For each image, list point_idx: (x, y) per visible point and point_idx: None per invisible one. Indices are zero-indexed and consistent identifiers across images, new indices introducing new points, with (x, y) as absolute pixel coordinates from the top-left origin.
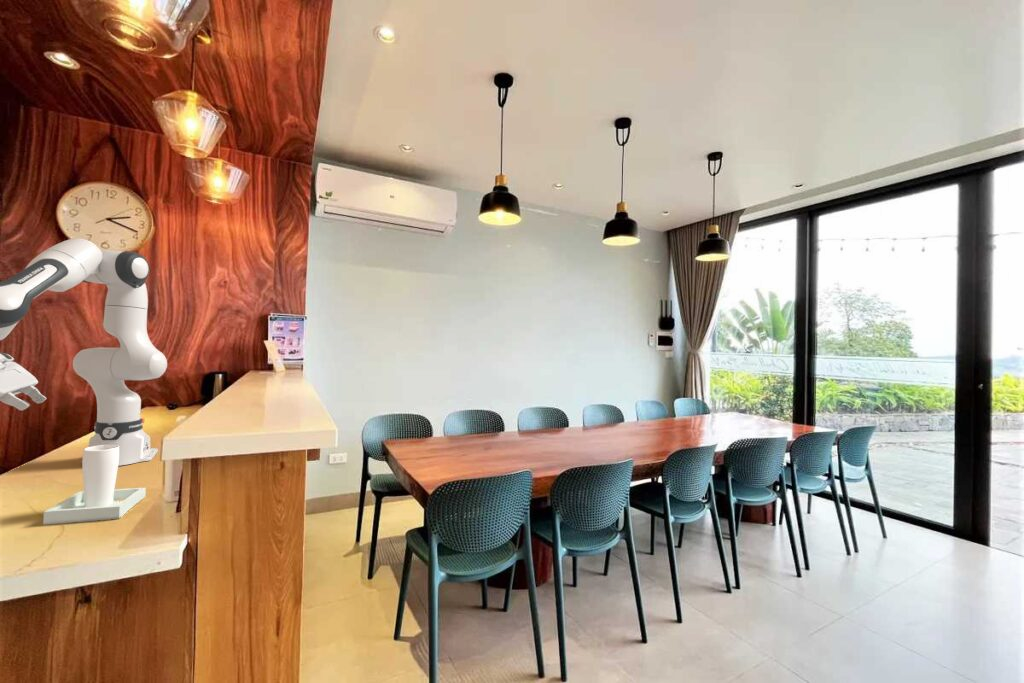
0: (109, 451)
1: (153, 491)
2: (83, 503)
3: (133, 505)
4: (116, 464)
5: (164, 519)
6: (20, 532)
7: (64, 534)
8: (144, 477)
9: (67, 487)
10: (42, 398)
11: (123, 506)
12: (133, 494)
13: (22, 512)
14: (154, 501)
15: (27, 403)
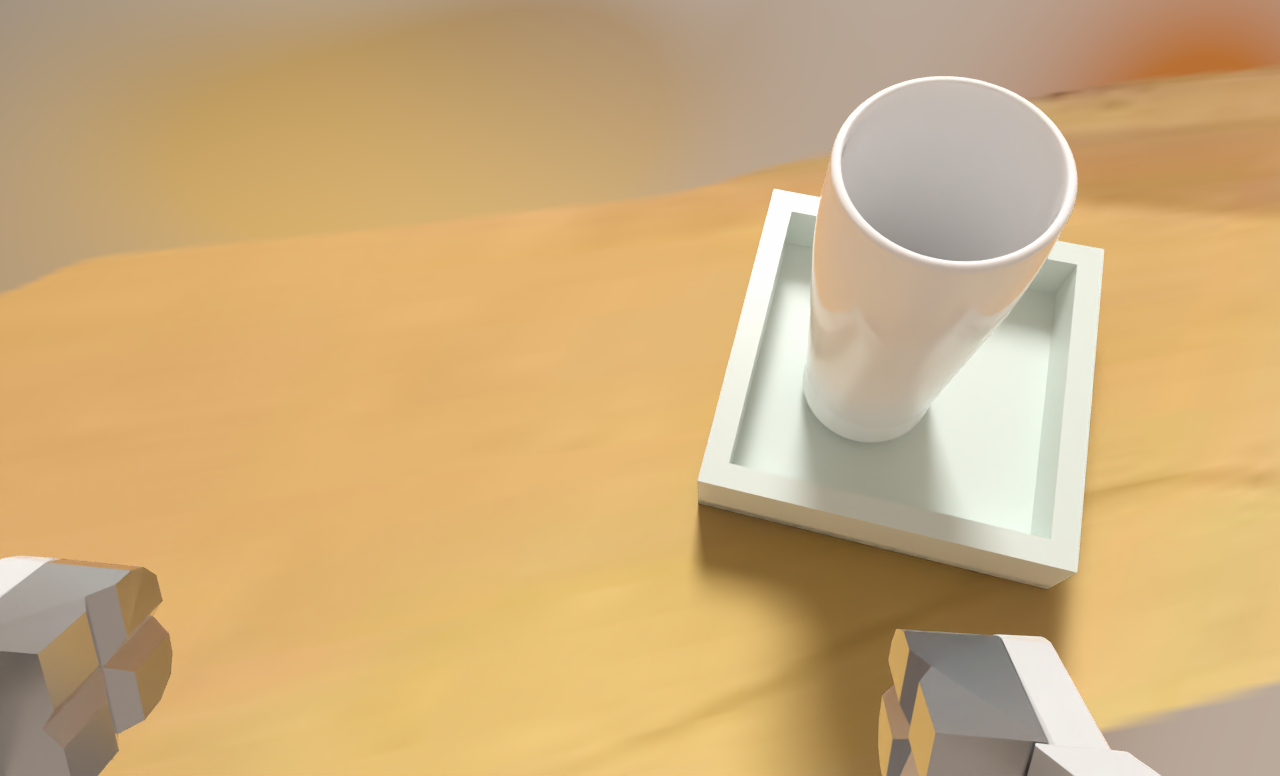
0: (1035, 123)
1: (647, 210)
2: (762, 470)
3: None
4: (945, 172)
5: (1148, 124)
6: (1139, 665)
7: (1238, 462)
8: (315, 280)
9: (293, 635)
10: (123, 590)
11: None
12: None
13: (752, 755)
14: None
15: (971, 657)
